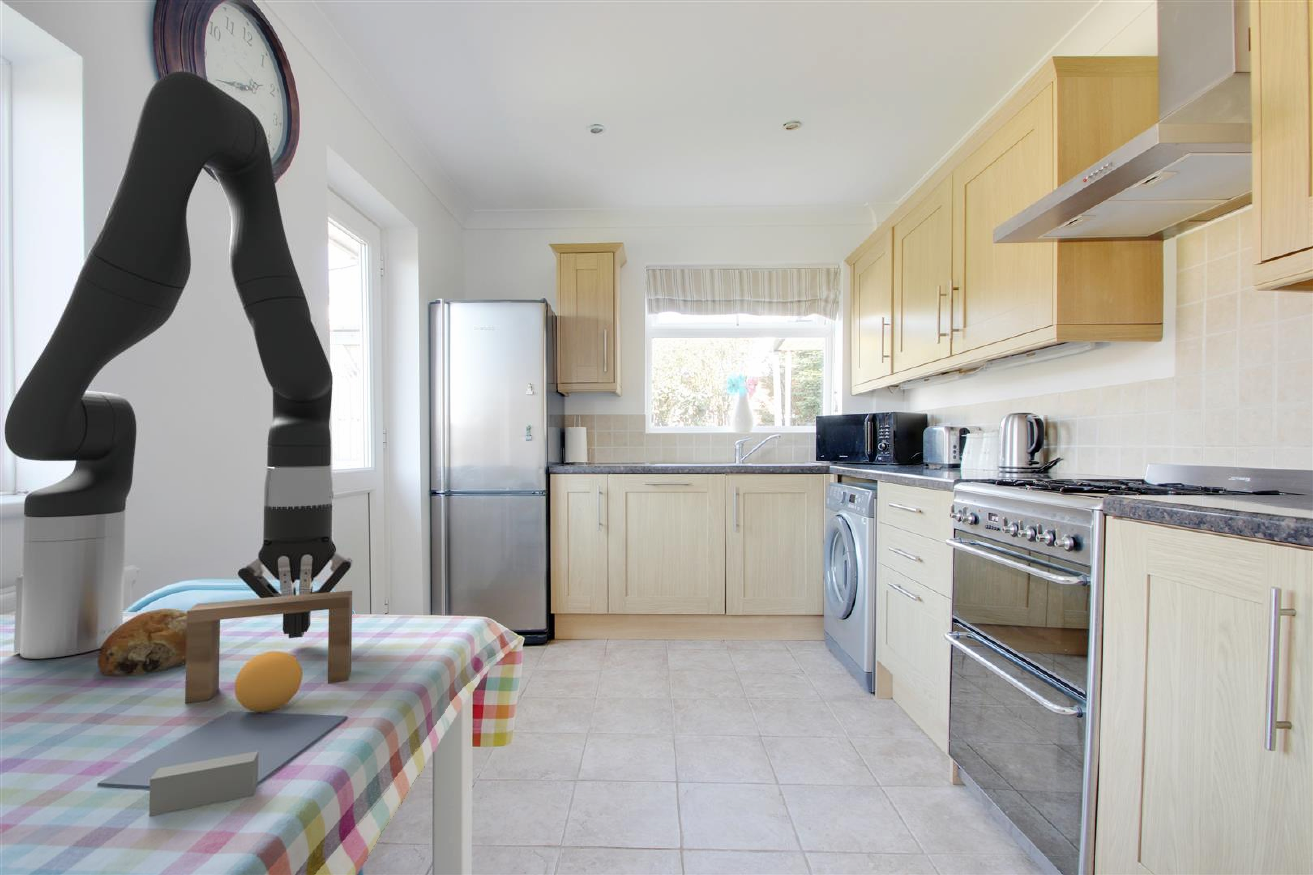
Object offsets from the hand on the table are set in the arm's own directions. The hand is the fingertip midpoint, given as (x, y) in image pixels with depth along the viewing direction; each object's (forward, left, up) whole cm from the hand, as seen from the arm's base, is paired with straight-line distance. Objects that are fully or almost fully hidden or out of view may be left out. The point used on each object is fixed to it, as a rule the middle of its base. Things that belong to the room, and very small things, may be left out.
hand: (296, 635), depth 73 cm
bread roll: (-14, -6, -2) cm, 15 cm away
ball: (+10, -17, +1) cm, 20 cm away
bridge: (+6, -11, -2) cm, 13 cm away
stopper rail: (+16, -31, -2) cm, 35 cm away
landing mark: (+13, -24, -2) cm, 27 cm away
